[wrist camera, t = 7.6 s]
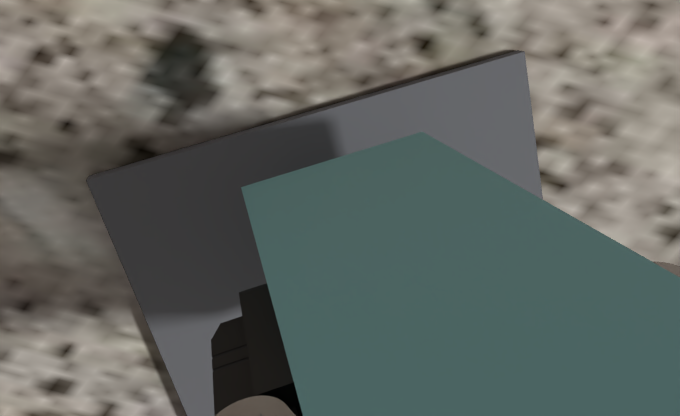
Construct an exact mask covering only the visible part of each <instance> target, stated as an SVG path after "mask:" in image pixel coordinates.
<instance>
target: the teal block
mask: <svg viewBox="0 0 680 416" xmlns="http://www.w3.org/2000/svg"><path fill="white" fill-rule="evenodd" d="M241 189H242V193H243V197H244V200H245V204H246V208H247V211H248V215H249V219H250V223H251V226H252V230H253V234H254V237H255V241H256V245H257V248H258V252H259V256H260V259H261V263H262V267H263V270H264V274H265V278H266V282H267V285H268V289H269V293H270V296H271V300H272V304H273V307H274V311H275V315H276V318H277V322H278V326H279V329H280V333H281V337H282V341H283V344H284V348H285V352H286V355H287V359H288V363H289V366H290V370H291V374H292V377H293V381H294V385H295V388H296V392H297V396H298V400H299V403H300V407H301V411H302V414H303V416H680V277H678V276H676V275H675V274H673V273H671V272H669V271H667V270H666V269H664V268H662V267H660V266H659V265H657V264H655V263H653V262H652V261H650V260H648V259H646V258H645V257H643V256H641V255H639V254H637V253H636V252H634V251H632V250H630V249H629V248H627V247H625V246H623V245H622V244H620V243H618V242H616V241H615V240H613V239H611V238H609V237H607V236H606V235H604V234H602V233H600V232H599V231H597V230H595V229H593V228H592V227H590V226H588V225H586V224H585V223H583V222H581V221H579V220H577V219H576V218H574V217H572V216H570V215H569V214H567V213H565V212H563V211H562V210H560V209H558V208H556V207H555V206H553V205H551V204H549V203H547V202H546V201H544V200H542V199H540V198H539V197H537V196H535V195H533V194H532V193H530V192H528V191H526V190H524V189H523V188H521V187H519V186H517V185H516V184H514V183H512V182H510V181H509V180H507V179H505V178H503V177H502V176H500V175H498V174H496V173H494V172H493V171H491V170H489V169H487V168H486V167H484V166H482V165H480V164H479V163H477V162H475V161H473V160H472V159H470V158H468V157H466V156H464V155H463V154H461V153H459V152H457V151H456V150H454V149H452V148H450V147H449V146H447V145H445V144H443V143H442V142H440V141H438V140H436V139H434V138H433V137H431V136H429V135H427V134H426V133H424V132H419V133H416V134H413V135H410V136H406V137H403V138H400V139H397V140H393V141H390V142H387V143H383V144H380V145H377V146H374V147H370V148H367V149H364V150H361V151H357V152H354V153H351V154H348V155H344V156H341V157H338V158H335V159H331V160H328V161H325V162H322V163H318V164H315V165H312V166H308V167H305V168H302V169H299V170H295V171H292V172H289V173H286V174H282V175H279V176H276V177H273V178H269V179H266V180H263V181H260V182H256V183H253V184H250V185H247V186H243V187H241Z"/></svg>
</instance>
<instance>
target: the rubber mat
mask: <svg viewBox="0 0 680 416" xmlns="http://www.w3.org/2000/svg"><path fill="white" fill-rule="evenodd" d="M419 132H424V133H426V134H427V135H429V136H431V137H433V138H434V139H436V140H438V141H440V142H442V143H443V144H445V145H447V146H449V147H450V148H452V149H454V150H456V151H457V152H459V153H461V154H463V155H464V156H466V157H468V158H470V159H472V160H473V161H475V162H477V163H479V164H480V165H482V166H484V167H486V168H487V169H489V170H491V171H493V172H494V173H496V174H498V175H500V176H502V177H503V178H505V179H507V180H509V181H510V182H512V183H514V184H516V185H517V186H519V187H521V188H523V189H524V190H526V191H528V192H530V193H532V194H533V195H535V196H537V197H539V198H540V199H542V200H543V197H542V189H541V181H540V173H539V165H538V157H537V149H536V141H535V132H534V124H533V116H532V108H531V100H530V92H529V84H528V76H527V68H526V60H525V52H524V51H518V50H517V51H514V52H510V53H507V54H503V55H500V56H497V57H493V58H490V59H486V60H483V61H479V62H476V63H473V64H469V65H466V66H462V67H459V68H456V69H452V70H449V71H445V72H442V73H439V74H435V75H432V76H428V77H425V78H422V79H418V80H415V81H411V82H408V83H405V84H401V85H398V86H394V87H391V88H387V89H384V90H381V91H377V92H374V93H370V94H367V95H364V96H360V97H357V98H353V99H350V100H347V101H343V102H340V103H336V104H333V105H330V106H326V107H323V108H319V109H316V110H313V111H309V112H306V113H302V114H299V115H295V116H292V117H289V118H285V119H282V120H278V121H275V122H272V123H268V124H265V125H261V126H258V127H255V128H251V129H248V130H244V131H241V132H238V133H234V134H231V135H227V136H224V137H220V138H217V139H214V140H210V141H207V142H203V143H200V144H197V145H193V146H190V147H186V148H183V149H180V150H176V151H173V152H169V153H166V154H163V155H159V156H156V157H152V158H149V159H146V160H142V161H139V162H135V163H132V164H128V165H125V166H122V167H118V168H115V169H111V170H108V171H105V172H101V173H98V174H94V175H91V176H89V177H88V178H87V180H86V181H87V184H88V186H89V188H90V191H91V193H92V195H93V198H94V200H95V202H96V205H97V207H98V209H99V212H100V214H101V216H102V219H103V221H104V223H105V226H106V228H107V230H108V233H109V235H110V237H111V240H112V242H113V244H114V247H115V249H116V251H117V254H118V256H119V258H120V261H121V263H122V265H123V268H124V270H125V272H126V274H127V277H128V279H129V281H130V284H131V286H132V288H133V291H134V293H135V295H136V298H137V300H138V302H139V305H140V307H141V309H142V312H143V314H144V316H145V319H146V321H147V323H148V326H149V328H150V330H151V333H152V335H153V337H154V340H155V342H156V344H157V347H158V349H159V351H160V354H161V356H162V358H163V361H164V363H165V365H166V368H167V370H168V372H169V375H170V377H171V379H172V382H173V384H174V386H175V389H176V391H177V393H178V396H179V398H180V400H181V403H182V405H183V407H184V410H185V412H186V414H187V416H215V415H214V394H213V373H212V372H213V370H212V352H211V339H212V337H213V336H214V334H215V332H216V330H217V329H218V327H219V325H220V323H223V322H226V321H229V320H232V319H235V318H238V317H241V316H242V311H241V304H240V298H239V292H241V291H244V290H247V289H250V288H254V287H257V286H260V285H263V284H266V283H267V282H266V278H265V274H264V270H263V267H262V263H261V259H260V256H259V252H258V248H257V245H256V241H255V237H254V234H253V230H252V226H251V223H250V219H249V215H248V211H247V208H246V204H245V200H244V197H243V193H242V189H241V187H243V186H247V185H250V184H253V183H256V182H260V181H263V180H266V179H269V178H273V177H276V176H279V175H282V174H286V173H289V172H292V171H295V170H299V169H302V168H305V167H308V166H312V165H315V164H318V163H322V162H325V161H328V160H331V159H335V158H338V157H341V156H344V155H348V154H351V153H354V152H357V151H361V150H364V149H367V148H370V147H374V146H377V145H380V144H383V143H387V142H390V141H393V140H397V139H400V138H403V137H406V136H410V135H413V134H416V133H419Z"/></svg>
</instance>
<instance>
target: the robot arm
mask: <svg viewBox="0 0 680 416" xmlns="http://www.w3.org/2000/svg"><path fill="white" fill-rule="evenodd" d="M653 263H655V264H657V265H659V266H660V267H662V268H664V269H666V270H667V271H669V272H671V273H673V274H675V275H676V276H678V277H680V266H677V265H674V264H670V263H664V262H653ZM239 298H240V304H241V311H242V316H241V317H238V318H235V319H232V320H229V321H226V322H223V323H220V325H219V327H218V329H217V330H216V332H215V334H214V336H213V337H212V339H211V352H212V370H213V372H212V373H213V394H214V415H215V416H303V414H302V411H301V407H300V403H299V400H298V396H297V392H296V388H295V385H294V381H293V377H292V374H291V370H290V366H289V363H288V359H287V355H286V352H285V348H284V344H283V341H282V337H281V333H280V329H279V326H278V322H277V318H276V315H275V311H274V307H273V304H272V300H271V296H270V293H269V289H268V285H267V283H266V284H263V285H260V286H257V287H254V288H250V289H247V290H244V291H241V292H239Z"/></svg>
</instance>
